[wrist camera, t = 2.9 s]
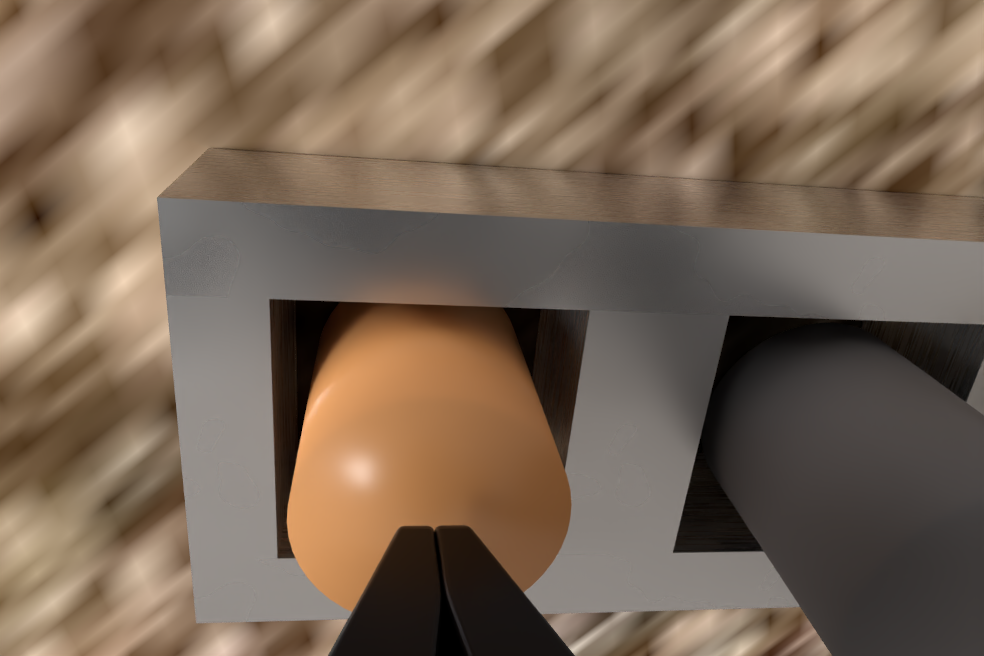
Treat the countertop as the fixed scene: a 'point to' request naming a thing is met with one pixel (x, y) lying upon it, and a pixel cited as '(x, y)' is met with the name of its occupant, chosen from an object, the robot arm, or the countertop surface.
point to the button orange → (422, 444)
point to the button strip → (560, 342)
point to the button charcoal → (857, 489)
